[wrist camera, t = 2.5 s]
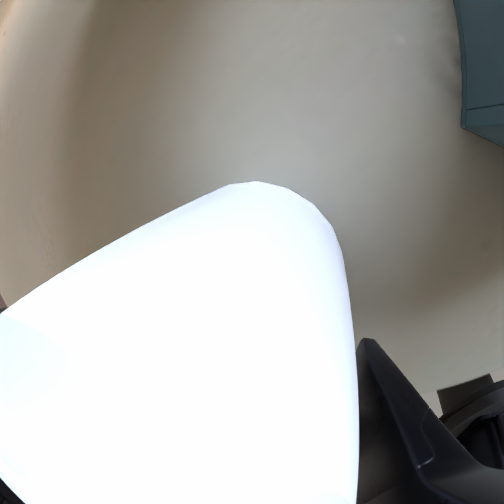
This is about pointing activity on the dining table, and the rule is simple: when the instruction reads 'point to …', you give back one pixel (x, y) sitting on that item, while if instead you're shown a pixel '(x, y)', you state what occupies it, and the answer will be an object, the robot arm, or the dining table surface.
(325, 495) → the can
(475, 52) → the box
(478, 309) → the dining table surface
